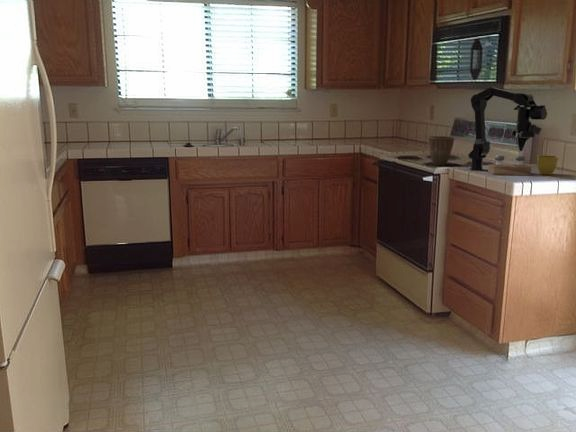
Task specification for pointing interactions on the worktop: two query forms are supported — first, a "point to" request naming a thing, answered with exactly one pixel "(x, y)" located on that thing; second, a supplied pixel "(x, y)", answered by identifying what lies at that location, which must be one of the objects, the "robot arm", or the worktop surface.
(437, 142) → the plant pot
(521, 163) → the knob
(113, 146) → the worktop surface
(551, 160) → the flower pot
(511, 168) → the mount
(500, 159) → the knob
